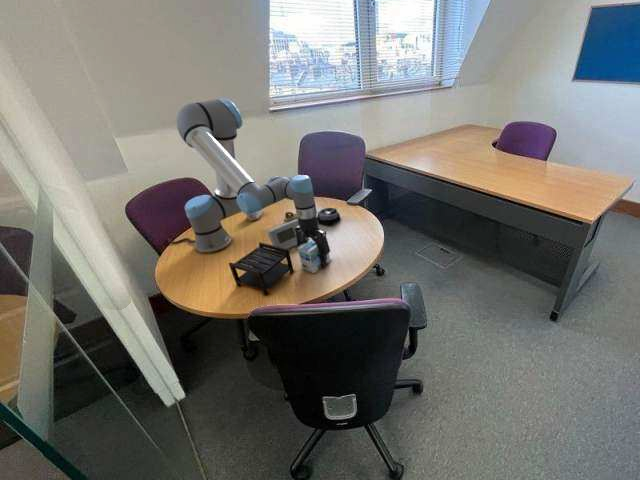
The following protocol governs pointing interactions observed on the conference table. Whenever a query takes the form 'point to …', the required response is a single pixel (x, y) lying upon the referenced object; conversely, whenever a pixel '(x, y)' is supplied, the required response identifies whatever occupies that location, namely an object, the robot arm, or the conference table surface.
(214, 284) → the conference table surface
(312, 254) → the light bulb box
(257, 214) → the mineral specimen
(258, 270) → the rack
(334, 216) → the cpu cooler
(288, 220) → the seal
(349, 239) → the conference table surface
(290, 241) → the digital clock
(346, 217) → the conference table surface
